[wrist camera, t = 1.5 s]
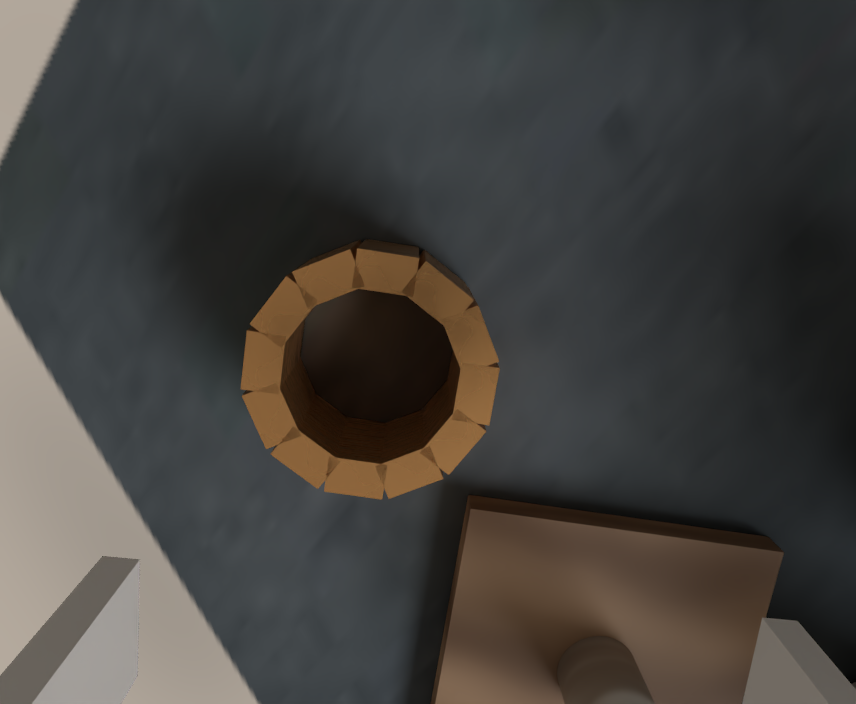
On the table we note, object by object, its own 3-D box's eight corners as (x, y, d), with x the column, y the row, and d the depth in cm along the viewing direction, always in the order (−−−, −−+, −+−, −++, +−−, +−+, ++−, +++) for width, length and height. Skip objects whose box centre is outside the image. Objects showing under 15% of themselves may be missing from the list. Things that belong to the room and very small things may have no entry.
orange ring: (282, 225, 31) (257, 232, 26) (501, 259, 31) (516, 273, 26) (258, 434, 33) (231, 478, 28) (464, 464, 33) (473, 512, 28)
